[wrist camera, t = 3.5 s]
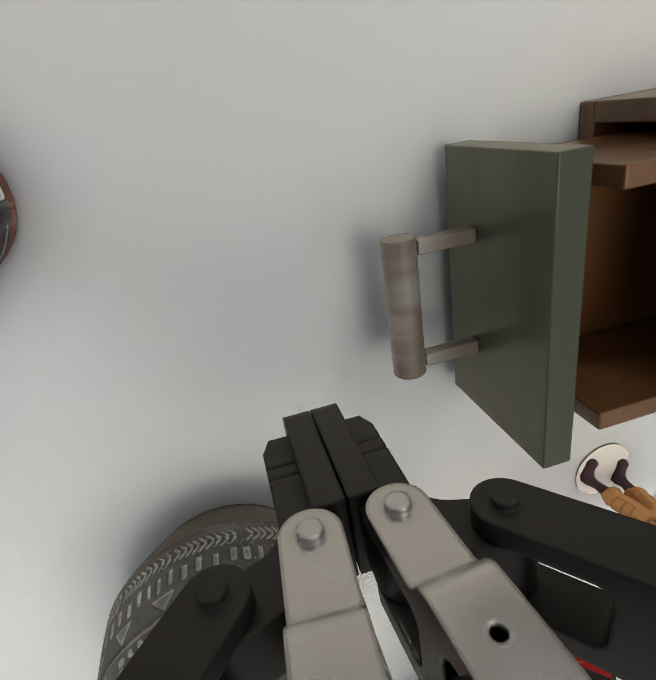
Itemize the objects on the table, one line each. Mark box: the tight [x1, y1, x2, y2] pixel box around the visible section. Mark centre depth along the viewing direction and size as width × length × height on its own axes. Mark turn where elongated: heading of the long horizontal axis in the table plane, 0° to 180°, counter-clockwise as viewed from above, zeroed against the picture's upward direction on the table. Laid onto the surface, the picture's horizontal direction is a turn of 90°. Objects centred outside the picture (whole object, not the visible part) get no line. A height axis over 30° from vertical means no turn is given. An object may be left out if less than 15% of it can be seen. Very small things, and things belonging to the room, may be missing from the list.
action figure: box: [576, 444, 656, 525], centre depth 28 cm, size 12×3×9 cm, turn 79°
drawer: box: [380, 125, 656, 468], centre depth 20 cm, size 18×12×7 cm, turn 99°
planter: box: [98, 504, 392, 680], centre depth 22 cm, size 12×12×13 cm
